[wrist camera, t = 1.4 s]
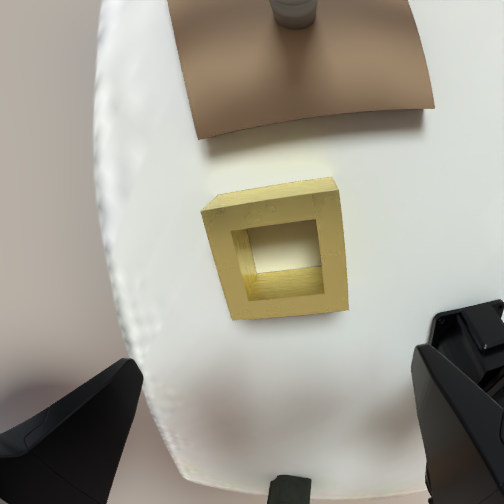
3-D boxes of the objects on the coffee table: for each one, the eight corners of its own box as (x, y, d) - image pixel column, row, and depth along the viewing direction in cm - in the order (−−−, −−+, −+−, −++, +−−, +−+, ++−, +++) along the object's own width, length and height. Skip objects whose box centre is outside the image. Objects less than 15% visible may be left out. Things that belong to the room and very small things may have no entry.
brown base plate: (423, 108, 12) (488, 109, 7) (207, 137, 15) (151, 151, 9) (372, -55, 8) (396, -111, 2) (171, -23, 11) (115, -66, 5)
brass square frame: (343, 280, 18) (348, 309, 15) (242, 291, 19) (232, 320, 16) (332, 176, 15) (338, 189, 12) (217, 195, 16) (200, 211, 14)
